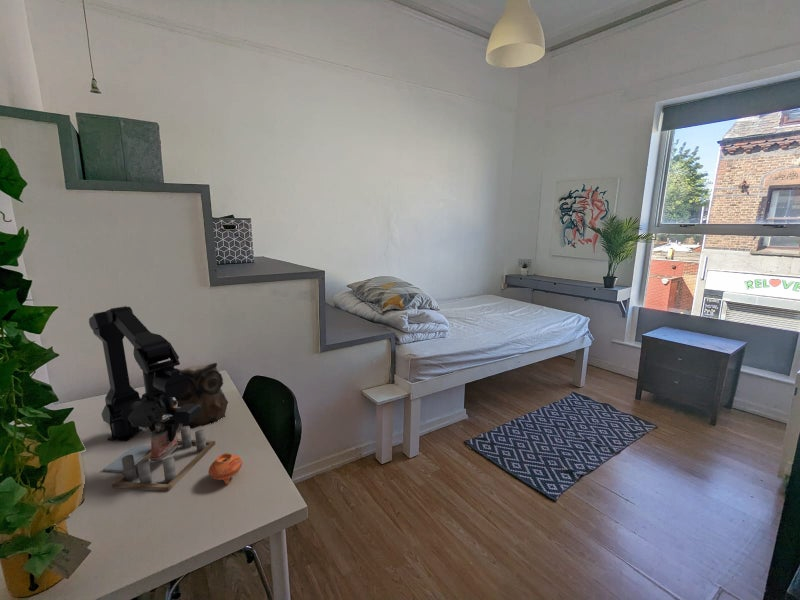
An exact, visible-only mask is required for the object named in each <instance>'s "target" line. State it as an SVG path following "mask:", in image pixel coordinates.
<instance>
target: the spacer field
mask: <svg viewBox="0 0 800 600" xmlns="http://www.w3.org/2000/svg"><path fill="white" fill-rule="evenodd" d="M205 433H206V432H205V429H198V430H196V431H195V434H194V435H195V436H194V437H195V439H192V435H191V434H192V433H191V428H190V426H184V427H182V426H181V428H180V438H177V443H178V445H181V446H182V449H184V450H188V449H190V448H192V447H193V446H196V451H197V453H198V454H197V455H196V456H195V457H194V458H193V459H191V460H190V461H189V462H188V464H186V466H184V467H183V468H182V469H181V470H180V472H178V473H176V465H175V458H174V457H173V456H167V457H165V458H163V459H162V467H163V476H164V481H165V483H153V480H152V473H151V465H150V464H151V463H150V460H149V459H150V456H151V452H149V453H148V454H147V455H146V456H144V457H143V458H142V459H141V460H139V461H138V462H137V463H136V464H134V458H133V455H127V456H124V457H123V458H122V465H123V471H124V472H123V474H122V475H120V476H118V478H116V479H115V480H114V481H113V482H112V483H111V484H110V485H111V488H118V489H119V488H120V489H135V490H146V491H147V490H148V491H163V492H169V491H170V490H172V489H173V488H174V487H175V485H176V484H178V482H179V481H180V480H181V479H182V478H184V477H185V476H186V474H188V472H189V471H190V470H191V469H192V468H193V467H194V466H195V465H196V464H197V463H198V462H200V461H201V460H202V458H203V457H204V456H206V454H207V453H208V452H209V451H211V449H212V448H213V447H214V446H216V440H206V439H207V438H206V434H205ZM137 472H138V478H139V482H134V480H135V479H136V478H137Z"/></svg>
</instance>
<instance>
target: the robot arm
mask: <svg viewBox="0 0 800 600" xmlns="http://www.w3.org/2000/svg"><path fill="white" fill-rule="evenodd" d="M88 323H89V327H90V329H91V330H92V332H93V335H95V336H96V337H97V338H98V339H99V340H100V341H101V342H102V347H103V353H104V358H105V363H106V364H105V365H106V370H107V371H106V372H107V374H108V382H109V386H110V387H109V390H108V392H107V394H106V396H105V405H104V408H103V410H102V412H101V418H102V420H103V422H105V424H106V423H107V424H108V425H109V427H110V433H111V435H110V436H108V437H107V441H118V442H119V441H121V442H126V441H129V440H130V439H132V438H133V437H135V436H136V435H137V434H139V433H140V432H142V431H143V428H144V429H147V428H148V430H149V431H150V432H151V433H152V432H153V431H154V430H155V425H156V424H158V423H159V421H160V420H161V419H163V418H162V416H165V417H169V418H168V420H167V421H165V422H164V423H163V424H164V425H166V426H167V431H168V438H169V441H170V442H172V441H173V440H174V438H175V435H176V432H177V433H178V431H179V427H180V424H183V423H185V424H186V423H189V422H191V421H192V420H193V419H194V418H196V417H197V416H198V415H199V414H200V413H201V407H200V405H198V404H187V403H186V404H184V405H183V406H182V407H176V408H174V406H175V405H176V404H177V405H178V403H177V400H173V397H179V396H181V395H183V394H184V393H185V392H186V391H187V389H188V387H189V380H188V378H187V377H186V376H185V375H183V374H181V373H180V372H179V370H180V369H179V368H175V367H177V366H180V365H181V363H180V360H179V358H180V357H179V354H178V353H177V352H176V350H175V349H174V347H173V345H172V344H171V342H170V341H168V339H166V338H165V337H164V336H162V335H161V334H159V333H153V332H151V331H150V330H149V329H148V328H147V326H146V325H144V323H143V322H141V320H140V319H139V317H137V316H136V315H135V314H134V312H133V309H132V308H131V306H126V305H125V306H118V307H113V308H112V307H111V308H110V309H106V310H105V311H100V312H94V313H93V314H92V316H91V317H89V319H88ZM124 338H126V339H127V340H128V341H129V343H130V344H131V345H132V346H133V357H134V359H135V362H136V364H137V365H138V366H139V368H140V370H142V378H143V383H144V391H145V393H142V394H141V397H140V393H139V392H138V391H137V390H135V388H134V387H132V386H131V382H130V378H129V377H130V376H129V370H128V364H127V358H126V352H125V346H124ZM151 433H150V434H151Z"/></svg>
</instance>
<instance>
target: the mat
mask: <svg viewBox="0 0 800 600" xmlns="http://www.w3.org/2000/svg"><path fill="white" fill-rule="evenodd" d="M150 451H151V445H139V444H135V445H134V446H132V447H131V448H129V449H128V450H126V451H125V452H124V453H123V454H121V455H120V456H119V457H117V458H116V459H114V461H112V462H110V463H109V464H108V465H106V466H105V467H104V468H103V469H102V472H108V471H111V472H110V473H112V472H113V473H124V471H123V465H122V458H123V457H124V456H127V455H133V458H134V464H135V463H136V464H137V463H138V462H139V461H140V459H141V460H142V459H143V458H144V457H145V455H148V454H149V453H150Z"/></svg>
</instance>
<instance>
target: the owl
mask: <svg viewBox="0 0 800 600" xmlns="http://www.w3.org/2000/svg"><path fill="white" fill-rule="evenodd" d="M217 366H218V363H217V362H212V363H207V364H206V363H205V364H199V365H193V366H188V367H185V368H181V369H179V372H180V373H181V374H183V375H185V376H186V377H187V378H188V380H189V387H188V389H187V391H186V392H185V393H184V394H183V395H181V396H179V397H175V399H176V400H177V407H182V406H183V405H184V404H186V403H187V404H198V405H200V407H201V413H200V414H199V415H198V416H197V417H196V418H194V419H193V420H192V421H191V422H189V423H186V424H185V423H181V424H182V425H181V428H182V427H184V426H190V430H191V429H196V428H199V427H205V426H207V425H213V424H215V423H218V422H219V421H220V420H222V419H224V418H226V412H227V406H228V404H229V401H228V399H227V397H226V396H225V393H224V392H223V390H222V386H223V385H224V379H223V376H222V374H221V373H220V371H219V369H218V368H217ZM223 417H224V418H223ZM221 418H222V419H221ZM218 420H219V421H218ZM214 422H215V423H214ZM210 423H211V424H210ZM212 423H213V424H212Z"/></svg>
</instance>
